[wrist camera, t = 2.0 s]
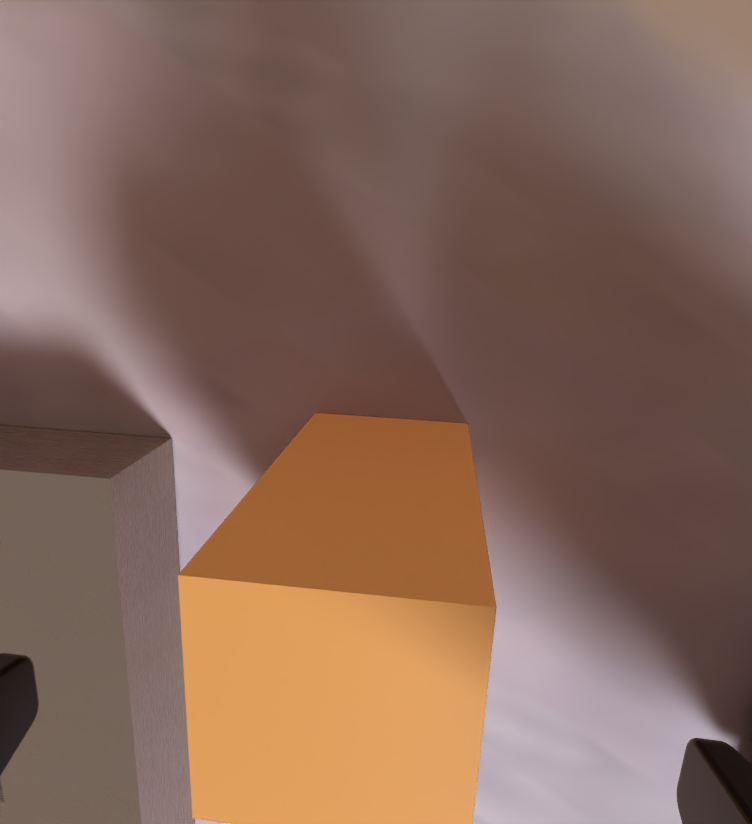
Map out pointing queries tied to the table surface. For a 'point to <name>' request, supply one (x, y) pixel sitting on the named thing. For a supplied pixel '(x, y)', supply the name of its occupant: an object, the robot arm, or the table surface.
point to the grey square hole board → (94, 628)
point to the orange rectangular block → (343, 633)
